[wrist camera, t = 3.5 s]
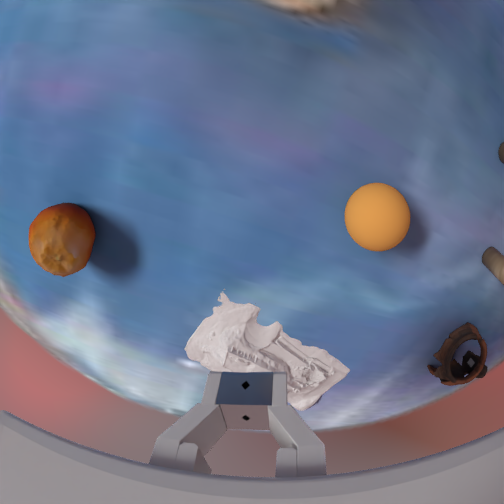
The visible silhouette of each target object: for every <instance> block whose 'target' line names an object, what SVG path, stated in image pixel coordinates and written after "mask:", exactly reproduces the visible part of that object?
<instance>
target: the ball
mask: <svg viewBox="0 0 504 504" xmlns="http://www.w3.org/2000/svg"><path fill="white" fill-rule="evenodd" d="M345 224H346V227H347V230H348V232H349V234H350V236H351V237H352V239H353V240H354V241H355V242H356V243H357V244H359V245H360V246H362V247H363V248H365V249H368V250H371V251H385V250H389V249H391V248H393V247H395V246H396V245H398V244H399V243H400V242H401V241H402V240H403V238H404V237H405V236H406V234H407V232H408V229H409V225H410V211H409V207H408V204H407V202H406V200H405V198H404V197H403V196H402V194H401V193H400V192H399V191H398V190H396V189H395V188H393V187H391V186H389V185H387V184H383V183H370V184H367V185H364V186H362V187H360V188H359V189H357V190H356V191H355V192H354V193H353V194H352V195H351V197H350V198H349V200H348V202H347V205H346V209H345Z"/></svg>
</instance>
